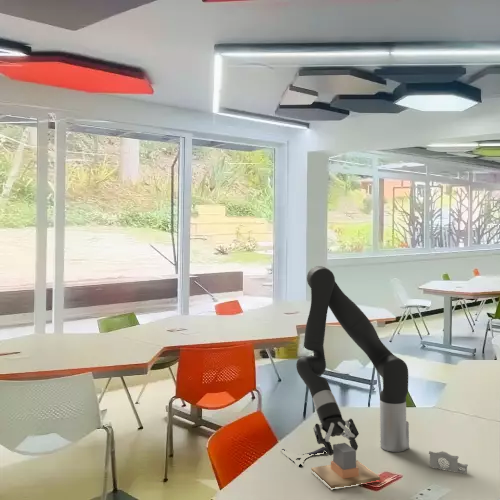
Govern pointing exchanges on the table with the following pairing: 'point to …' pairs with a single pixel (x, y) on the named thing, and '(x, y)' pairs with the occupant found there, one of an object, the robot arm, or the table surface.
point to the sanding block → (344, 461)
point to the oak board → (337, 481)
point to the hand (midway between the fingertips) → (343, 452)
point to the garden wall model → (451, 459)
